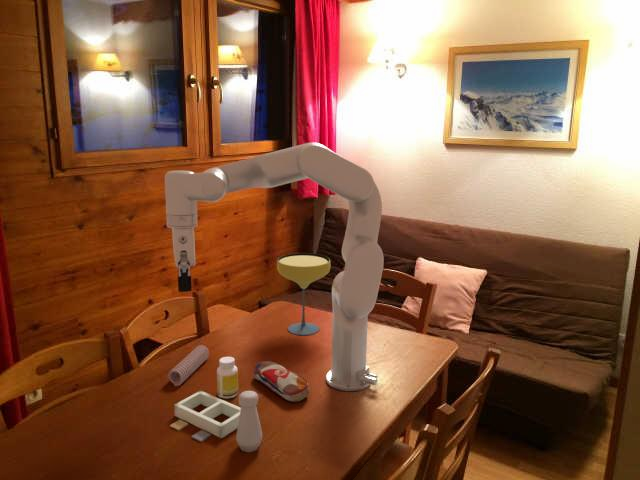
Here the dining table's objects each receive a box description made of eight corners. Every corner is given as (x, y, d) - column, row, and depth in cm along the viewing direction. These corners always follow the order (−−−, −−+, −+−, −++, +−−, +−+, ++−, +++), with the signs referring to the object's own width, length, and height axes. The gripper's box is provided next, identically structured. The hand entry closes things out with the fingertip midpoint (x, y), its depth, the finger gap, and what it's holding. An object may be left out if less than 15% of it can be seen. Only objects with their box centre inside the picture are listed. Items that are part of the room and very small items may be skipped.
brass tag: (188, 425, 126) (188, 423, 126) (178, 430, 123) (178, 429, 123) (180, 420, 127) (179, 419, 127) (170, 426, 125) (170, 425, 125)
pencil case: (273, 410, 133) (272, 392, 132) (250, 376, 150) (249, 359, 149) (313, 401, 137) (313, 383, 136) (286, 369, 155) (286, 353, 154)
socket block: (247, 421, 127) (246, 410, 127) (221, 438, 121) (221, 426, 120) (200, 401, 136) (200, 390, 136) (174, 415, 129) (174, 404, 129)
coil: (182, 373, 142) (211, 345, 159) (166, 369, 143) (196, 342, 160) (181, 388, 144) (210, 359, 161) (166, 384, 144) (195, 356, 162)
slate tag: (210, 435, 122) (210, 434, 121) (201, 442, 119) (200, 440, 119) (201, 431, 123) (201, 429, 123) (191, 437, 121) (191, 436, 121)
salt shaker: (237, 439, 120) (235, 387, 117) (262, 438, 121) (261, 386, 118) (235, 455, 115) (234, 401, 112) (262, 454, 115) (261, 400, 112)
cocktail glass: (337, 324, 188) (338, 256, 182) (316, 343, 172) (317, 269, 166) (292, 316, 195) (292, 250, 189) (267, 334, 179) (266, 262, 173)
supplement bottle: (242, 392, 141) (241, 358, 139) (228, 401, 136) (227, 366, 134) (227, 386, 144) (226, 353, 141) (213, 395, 139) (211, 361, 137)
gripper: (198, 226, 126) (201, 295, 129) (196, 213, 142) (198, 275, 146) (166, 227, 124) (169, 297, 127) (167, 214, 140) (170, 276, 144)
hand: (184, 285), depth 137 cm, fingers open, 9 cm apart
